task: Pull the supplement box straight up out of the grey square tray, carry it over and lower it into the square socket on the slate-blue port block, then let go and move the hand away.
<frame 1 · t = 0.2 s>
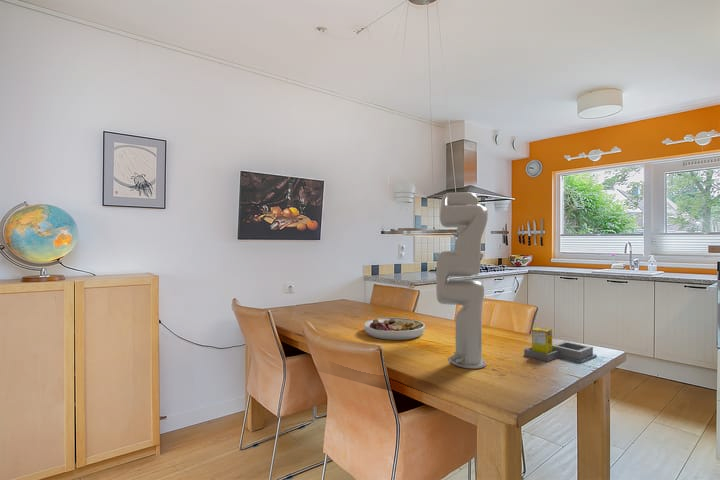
hand: (465, 271, 187), 31 cm above the table, tool pointing down, fingers open, 9 cm apart
supplement box: (542, 356, 153), resting in grey square tray
grey square tray: (542, 356, 153), on the table
port block: (572, 355, 153), on the table
bowl: (394, 334, 190), on the table
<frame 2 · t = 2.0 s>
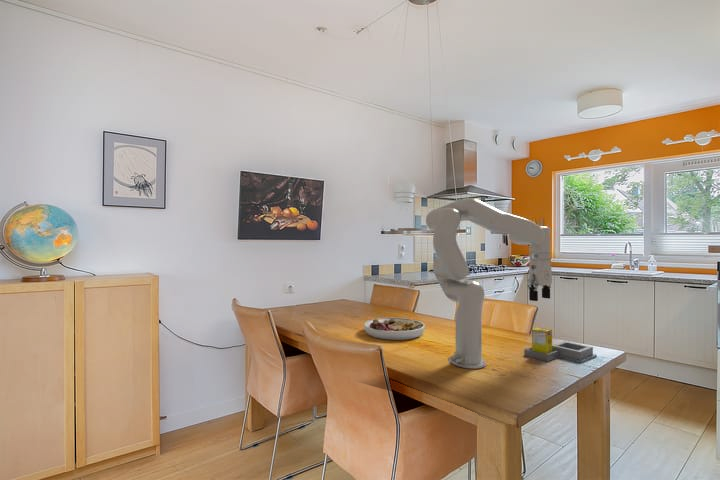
hand: (539, 299, 154), 23 cm above the table, tool pointing down, fingers open, 9 cm apart
nothing on the table moved.
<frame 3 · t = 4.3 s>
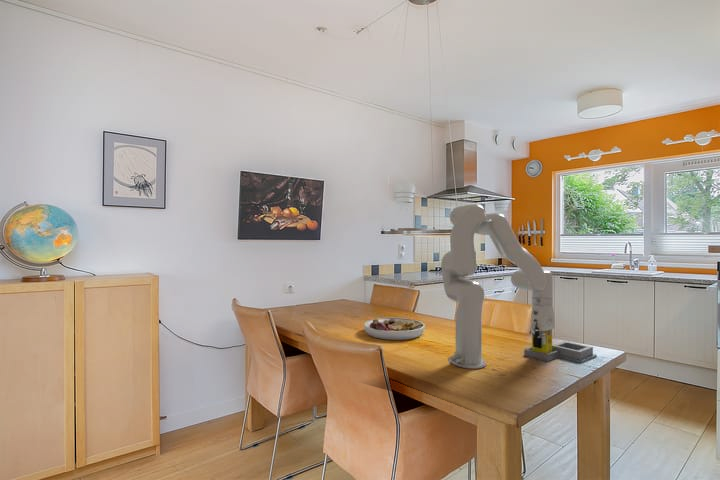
hand: (542, 345, 153), 4 cm above the table, tool pointing down, fingers closed on supplement box, 6 cm apart
supplement box: (542, 356, 153), resting in grey square tray, touching gripper
everything else where it was.
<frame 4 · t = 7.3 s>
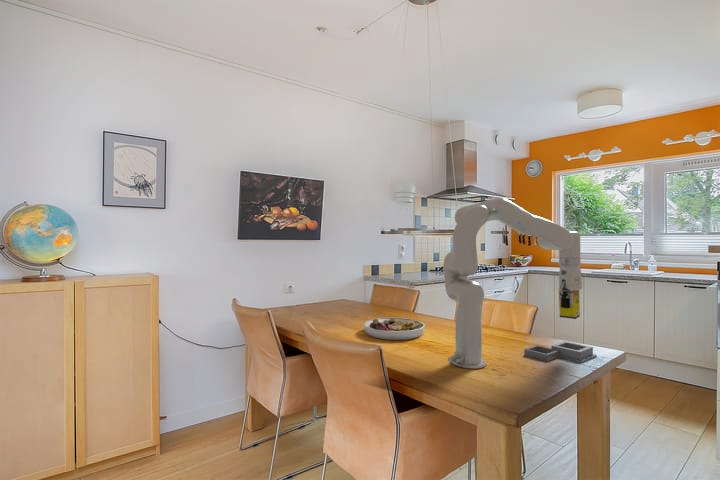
hand: (569, 306, 153), 20 cm above the table, tool pointing down, fingers closed on supplement box, 6 cm apart
supplement box: (569, 317, 154), point 15 cm above the table, touching gripper
everything else where it was.
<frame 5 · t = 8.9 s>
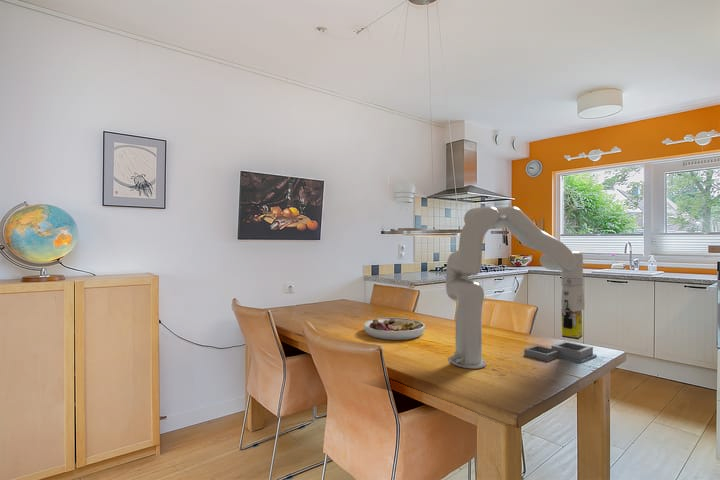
hand: (572, 326, 153), 12 cm above the table, tool pointing down, fingers closed on supplement box, 6 cm apart
supplement box: (572, 337, 154), point 7 cm above the table, touching gripper
everything else where it was.
when the fingers open (6 cm above the table, at t = 10.4 s): supplement box drops 1 cm, resting on port block.
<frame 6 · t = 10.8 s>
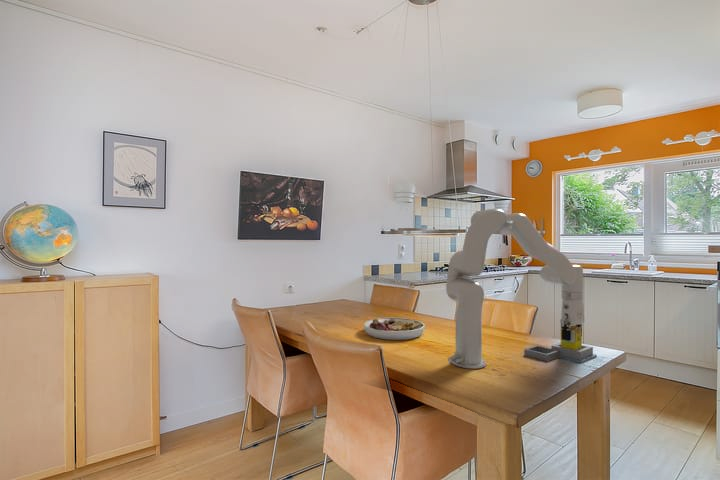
hand: (572, 338, 153), 7 cm above the table, tool pointing down, fingers open, 9 cm apart
supplement box: (571, 354, 153), point 1 cm above the table, touching port block
everything else where it was.
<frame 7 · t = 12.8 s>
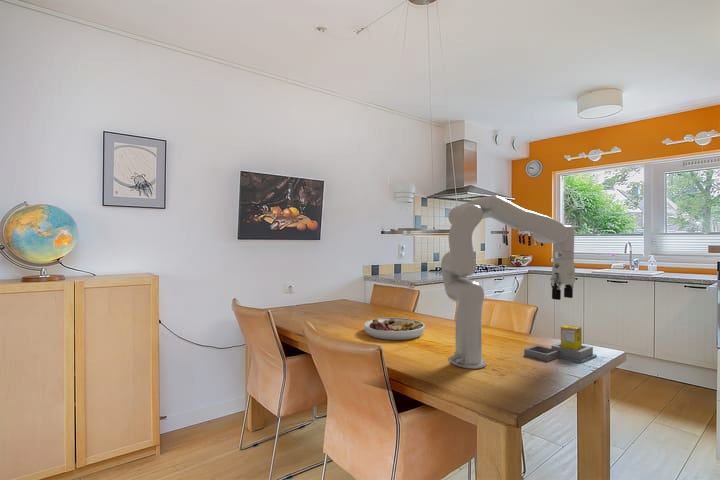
hand: (562, 298, 154), 23 cm above the table, tool pointing down, fingers open, 9 cm apart
nothing on the table moved.
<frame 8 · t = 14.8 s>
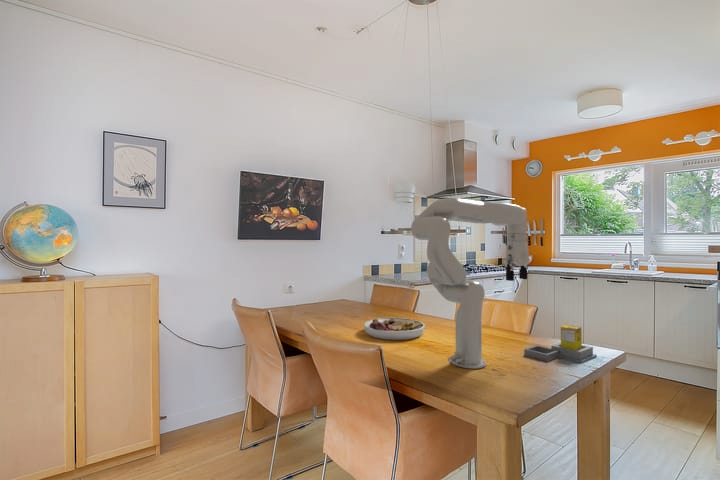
hand: (516, 279, 156), 30 cm above the table, tool pointing down, fingers open, 9 cm apart
nothing on the table moved.
at the end: supplement box 0.4 cm off-centre on the port block, point 0.6 cm above the port block's base; supplement box tilted 0°; the gripper is holding nothing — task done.
